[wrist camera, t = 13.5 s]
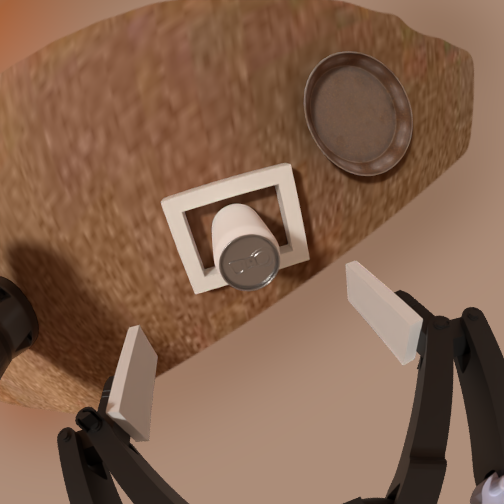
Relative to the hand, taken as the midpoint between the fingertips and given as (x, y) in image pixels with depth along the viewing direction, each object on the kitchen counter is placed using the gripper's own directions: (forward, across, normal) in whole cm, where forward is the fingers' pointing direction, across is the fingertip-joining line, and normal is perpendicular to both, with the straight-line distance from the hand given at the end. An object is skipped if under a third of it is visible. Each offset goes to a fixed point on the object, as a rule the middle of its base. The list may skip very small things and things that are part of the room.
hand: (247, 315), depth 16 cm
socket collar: (+21, +2, -1) cm, 21 cm away
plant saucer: (+21, +22, +10) cm, 32 cm away
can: (+21, +2, -1) cm, 21 cm away
